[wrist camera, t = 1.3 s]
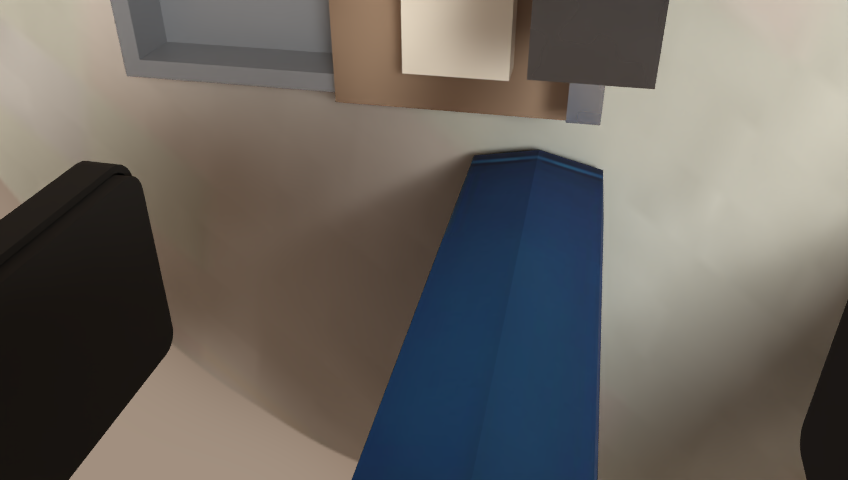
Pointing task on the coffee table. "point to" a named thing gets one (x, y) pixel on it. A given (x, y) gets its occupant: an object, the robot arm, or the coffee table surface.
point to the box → (228, 41)
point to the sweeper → (595, 48)
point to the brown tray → (387, 86)
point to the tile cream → (459, 38)
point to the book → (503, 334)
